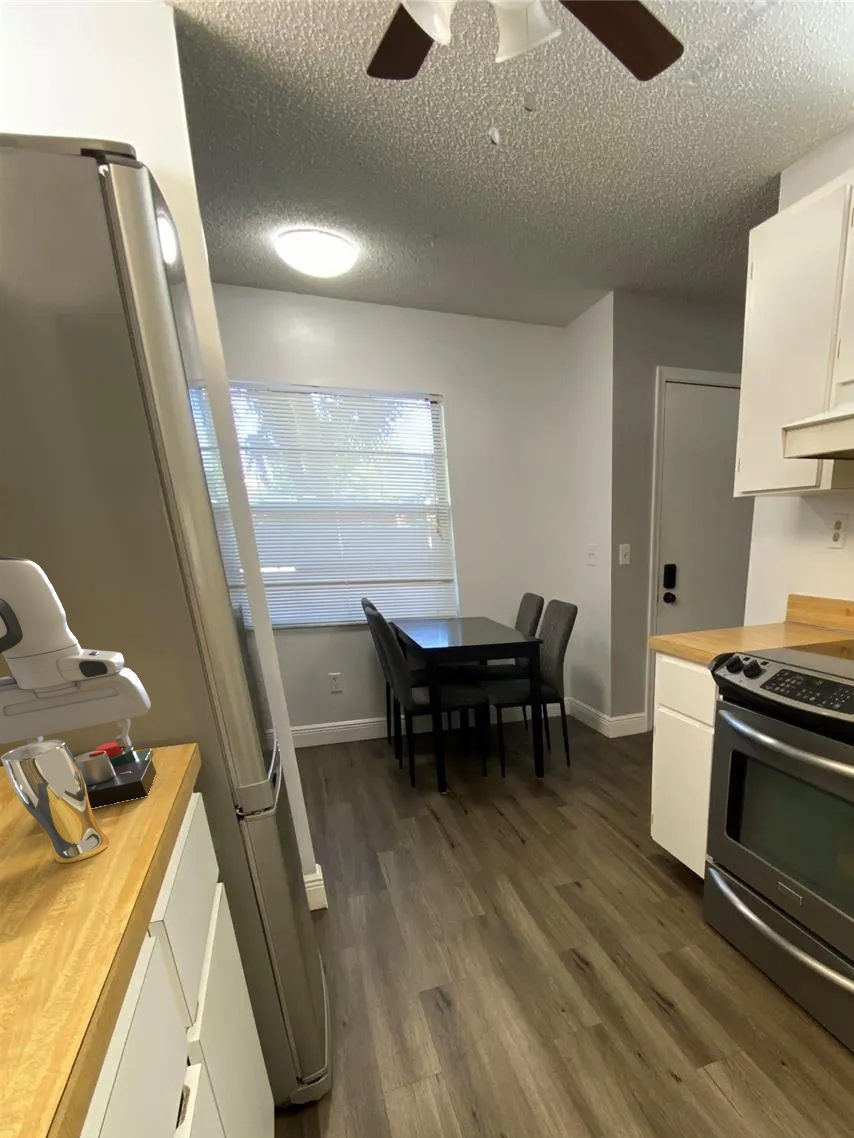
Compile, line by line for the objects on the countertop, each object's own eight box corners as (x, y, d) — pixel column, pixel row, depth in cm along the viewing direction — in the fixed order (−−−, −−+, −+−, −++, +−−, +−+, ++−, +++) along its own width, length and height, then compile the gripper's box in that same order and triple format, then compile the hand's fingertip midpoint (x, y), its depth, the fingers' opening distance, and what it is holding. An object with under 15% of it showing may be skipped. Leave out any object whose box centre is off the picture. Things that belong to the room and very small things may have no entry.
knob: (79, 787, 98) (68, 762, 97) (86, 777, 102) (75, 752, 100) (112, 780, 100) (101, 755, 98) (118, 770, 104) (107, 746, 102)
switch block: (80, 789, 106) (70, 768, 104) (92, 772, 112) (82, 752, 111) (148, 774, 109) (139, 753, 107) (155, 759, 116) (147, 738, 114)
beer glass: (113, 851, 85) (65, 748, 78) (49, 871, 81) (-6, 766, 75) (113, 832, 90) (68, 734, 84) (53, 850, 87) (2, 749, 80)
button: (97, 760, 107) (92, 751, 106) (102, 753, 110) (97, 744, 109) (121, 755, 108) (117, 746, 108) (125, 749, 111) (121, 739, 111)
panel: (50, 819, 96) (41, 801, 95) (68, 794, 104) (60, 777, 103) (147, 797, 100) (140, 779, 99) (157, 774, 109) (150, 757, 107)
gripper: (-45, 689, 87) (4, 778, 93) (125, 659, 94) (160, 744, 100) (-27, 678, 93) (18, 764, 99) (132, 651, 99) (166, 732, 105)
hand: (91, 754), depth 99 cm, fingers open, 8 cm apart
